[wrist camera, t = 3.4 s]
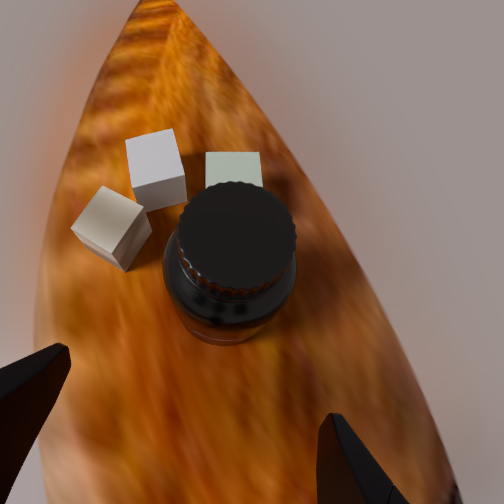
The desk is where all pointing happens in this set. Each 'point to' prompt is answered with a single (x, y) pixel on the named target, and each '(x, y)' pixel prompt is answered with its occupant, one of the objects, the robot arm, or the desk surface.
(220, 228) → the supplement bottle
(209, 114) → the desk surface
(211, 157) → the sage block
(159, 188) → the grey plastic block
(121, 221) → the birch block
